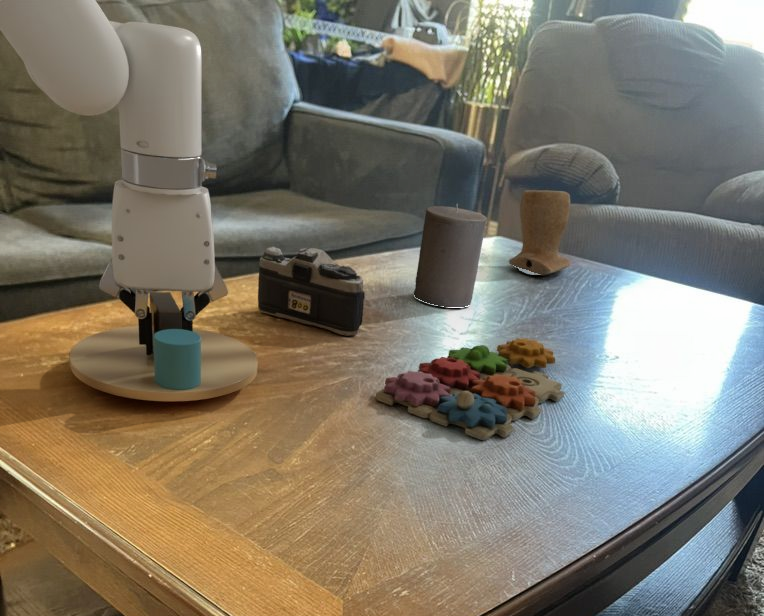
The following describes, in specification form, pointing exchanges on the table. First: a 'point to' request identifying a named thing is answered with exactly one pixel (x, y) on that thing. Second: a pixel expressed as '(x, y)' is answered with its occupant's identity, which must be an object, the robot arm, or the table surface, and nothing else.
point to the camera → (311, 290)
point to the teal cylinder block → (177, 359)
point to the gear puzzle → (477, 388)
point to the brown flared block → (542, 231)
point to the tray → (136, 369)
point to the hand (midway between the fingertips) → (166, 349)
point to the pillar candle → (449, 256)
